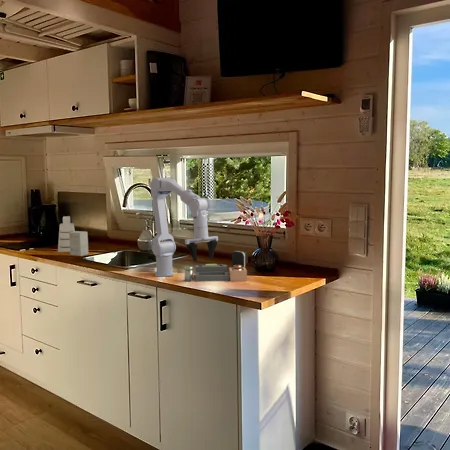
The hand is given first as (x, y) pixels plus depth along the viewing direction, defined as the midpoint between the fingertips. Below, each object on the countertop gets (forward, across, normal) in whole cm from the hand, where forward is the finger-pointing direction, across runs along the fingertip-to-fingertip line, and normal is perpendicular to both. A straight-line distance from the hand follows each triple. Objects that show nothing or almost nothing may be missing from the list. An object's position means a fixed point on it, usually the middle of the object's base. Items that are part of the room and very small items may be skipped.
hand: (203, 259), depth 204 cm
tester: (+10, +7, +7) cm, 14 cm away
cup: (+11, +16, -1) cm, 19 cm away
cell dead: (+10, +16, -1) cm, 19 cm away
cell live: (+9, -3, +10) cm, 14 cm away
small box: (0, -27, +99) cm, 103 cm away
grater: (-2, -29, +118) cm, 121 cm away
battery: (+11, +21, +6) cm, 24 cm away
